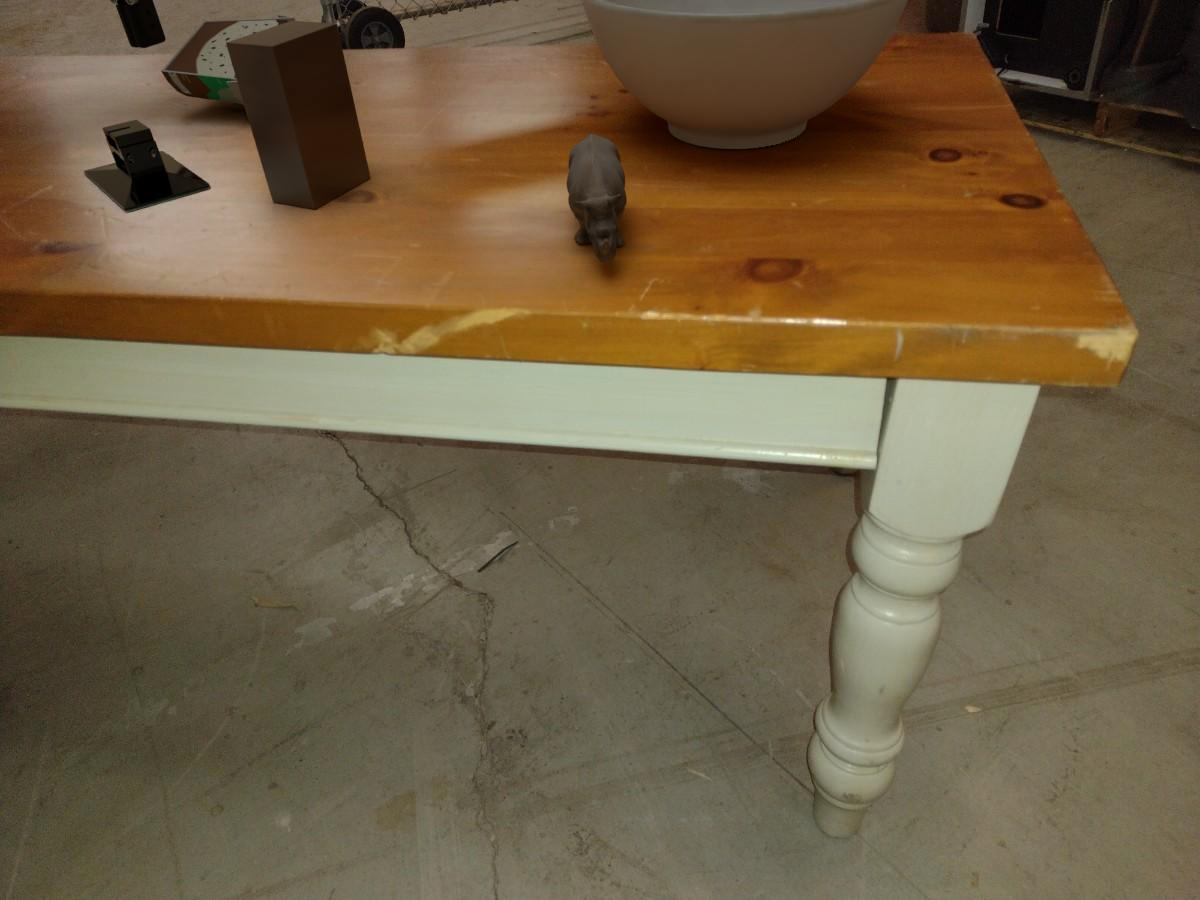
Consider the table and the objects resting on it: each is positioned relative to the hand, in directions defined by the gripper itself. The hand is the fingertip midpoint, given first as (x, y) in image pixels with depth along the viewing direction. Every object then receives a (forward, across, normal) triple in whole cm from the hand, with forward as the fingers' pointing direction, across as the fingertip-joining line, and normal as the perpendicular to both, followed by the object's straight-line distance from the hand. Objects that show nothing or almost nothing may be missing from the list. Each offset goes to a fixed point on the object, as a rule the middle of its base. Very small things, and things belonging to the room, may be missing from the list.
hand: (148, 44), depth 89 cm
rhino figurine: (+7, +58, -15) cm, 60 cm away
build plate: (+6, +15, -17) cm, 24 cm away
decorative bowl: (+7, +59, +11) cm, 61 cm away
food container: (+3, +3, +2) cm, 5 cm away
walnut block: (+6, +32, -14) cm, 35 cm away
